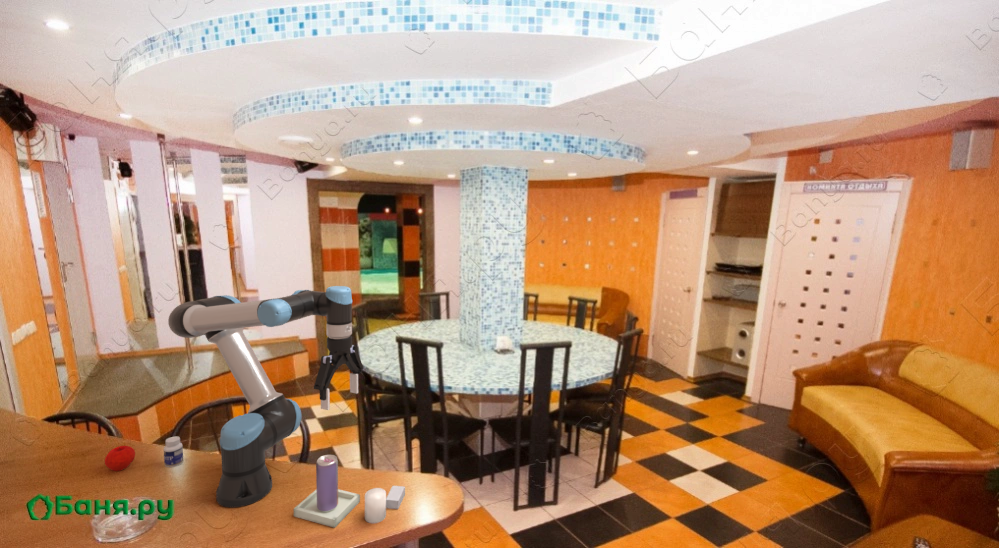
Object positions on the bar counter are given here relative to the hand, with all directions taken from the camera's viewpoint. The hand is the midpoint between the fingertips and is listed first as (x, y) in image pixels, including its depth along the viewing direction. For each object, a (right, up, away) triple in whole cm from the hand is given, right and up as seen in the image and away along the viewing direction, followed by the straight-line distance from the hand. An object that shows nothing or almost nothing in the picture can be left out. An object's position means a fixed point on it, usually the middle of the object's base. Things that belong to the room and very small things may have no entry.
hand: (340, 400), depth 140 cm
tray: (-1, -30, -9) cm, 31 cm away
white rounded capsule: (+14, -31, -11) cm, 36 cm away
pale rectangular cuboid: (+19, -30, -4) cm, 36 cm away
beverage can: (-1, -29, -9) cm, 31 cm away
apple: (-76, -25, +7) cm, 80 cm away
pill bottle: (-61, -25, +11) cm, 67 cm away
